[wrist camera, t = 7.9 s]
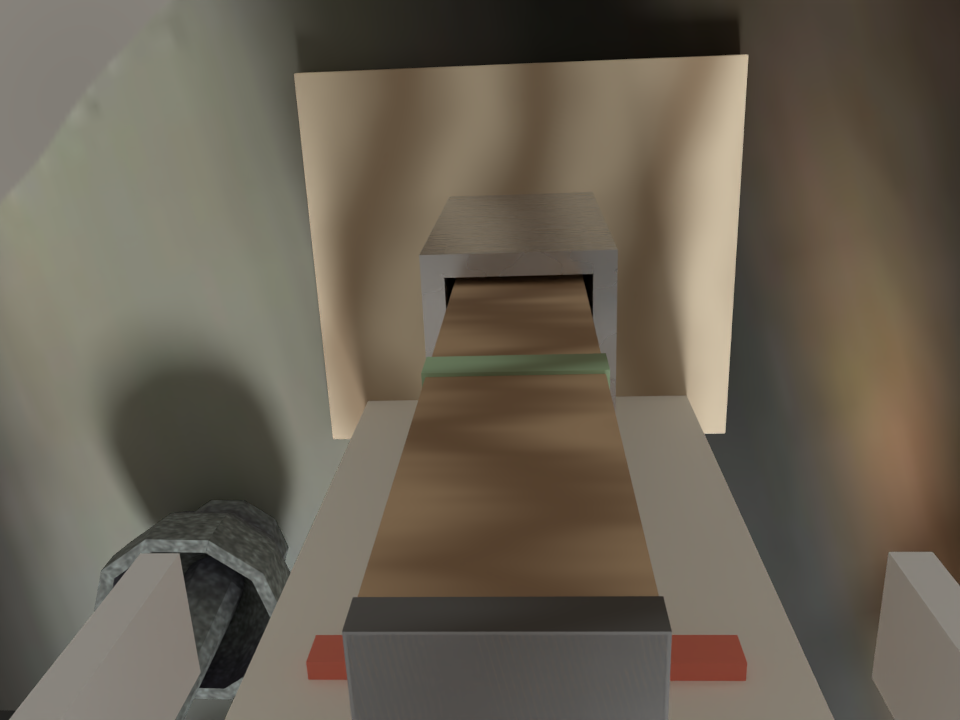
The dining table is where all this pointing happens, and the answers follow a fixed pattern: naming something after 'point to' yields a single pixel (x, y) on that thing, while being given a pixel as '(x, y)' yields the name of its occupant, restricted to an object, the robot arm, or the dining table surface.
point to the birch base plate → (528, 170)
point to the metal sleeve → (522, 253)
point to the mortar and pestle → (217, 584)
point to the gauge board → (672, 550)
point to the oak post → (511, 531)
